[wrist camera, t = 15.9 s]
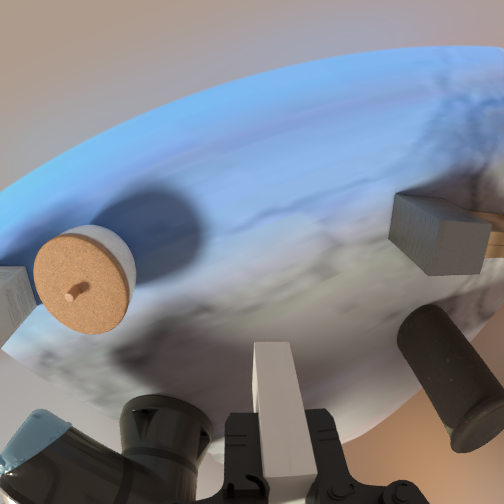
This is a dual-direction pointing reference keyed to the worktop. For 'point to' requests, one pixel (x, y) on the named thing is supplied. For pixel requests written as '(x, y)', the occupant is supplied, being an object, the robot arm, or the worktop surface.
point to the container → (453, 378)
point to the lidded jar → (86, 278)
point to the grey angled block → (439, 235)
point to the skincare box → (14, 300)
